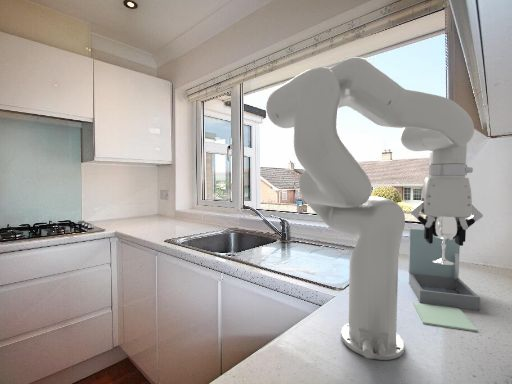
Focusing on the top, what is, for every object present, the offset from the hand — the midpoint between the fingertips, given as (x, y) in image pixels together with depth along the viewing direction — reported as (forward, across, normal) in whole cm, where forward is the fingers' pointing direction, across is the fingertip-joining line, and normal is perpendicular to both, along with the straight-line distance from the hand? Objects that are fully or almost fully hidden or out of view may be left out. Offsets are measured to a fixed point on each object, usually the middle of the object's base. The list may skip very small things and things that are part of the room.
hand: (443, 242), depth 69 cm
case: (+19, -4, -15) cm, 24 cm away
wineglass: (+5, 0, 0) cm, 5 cm away
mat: (+19, 0, 0) cm, 19 cm away
